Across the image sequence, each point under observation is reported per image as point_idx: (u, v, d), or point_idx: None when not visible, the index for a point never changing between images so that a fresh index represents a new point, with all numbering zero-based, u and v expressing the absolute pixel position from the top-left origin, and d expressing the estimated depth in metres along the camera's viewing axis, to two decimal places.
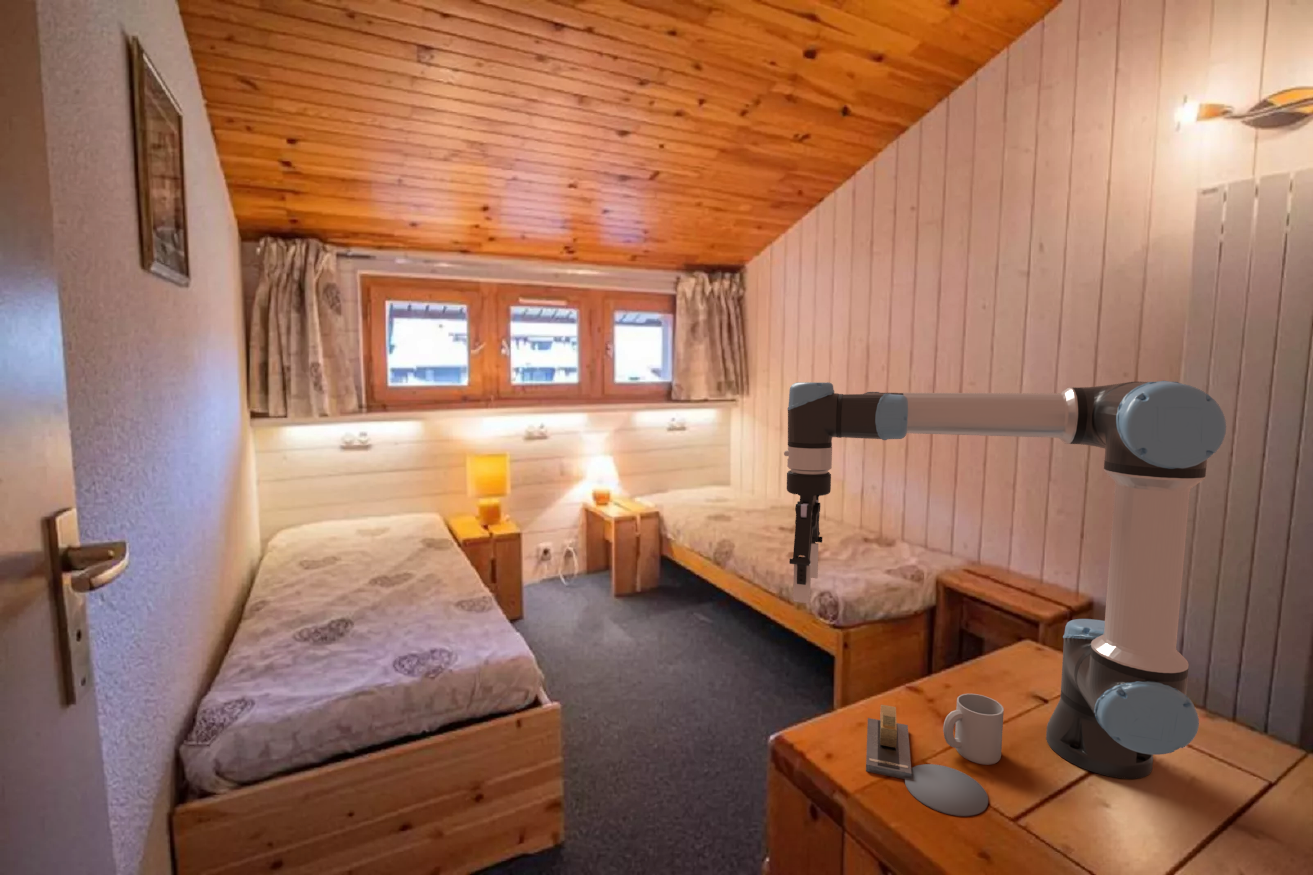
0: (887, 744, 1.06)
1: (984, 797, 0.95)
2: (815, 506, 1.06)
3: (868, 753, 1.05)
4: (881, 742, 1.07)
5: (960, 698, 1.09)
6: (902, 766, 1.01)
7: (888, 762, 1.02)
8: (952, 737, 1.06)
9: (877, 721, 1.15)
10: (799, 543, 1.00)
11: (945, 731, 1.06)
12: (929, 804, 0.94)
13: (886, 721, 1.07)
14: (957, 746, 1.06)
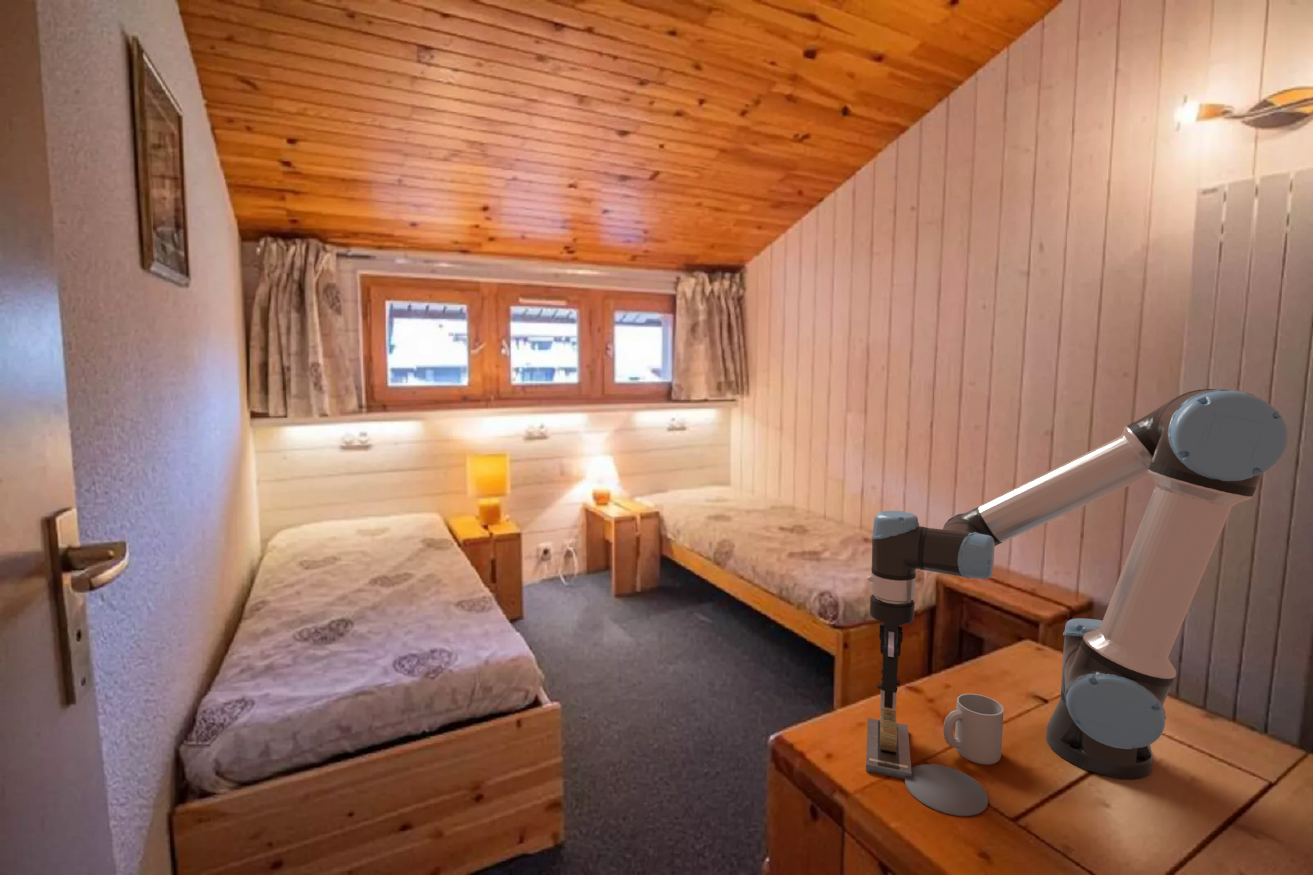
0: (887, 748, 1.05)
1: (984, 797, 0.95)
2: (899, 635, 1.09)
3: (868, 753, 1.05)
4: (881, 746, 1.05)
5: (960, 698, 1.09)
6: (902, 766, 1.01)
7: (888, 762, 1.02)
8: (952, 737, 1.06)
9: (877, 721, 1.15)
10: (887, 678, 1.08)
11: (945, 731, 1.06)
12: (929, 804, 0.94)
13: (886, 725, 1.05)
14: (957, 746, 1.06)
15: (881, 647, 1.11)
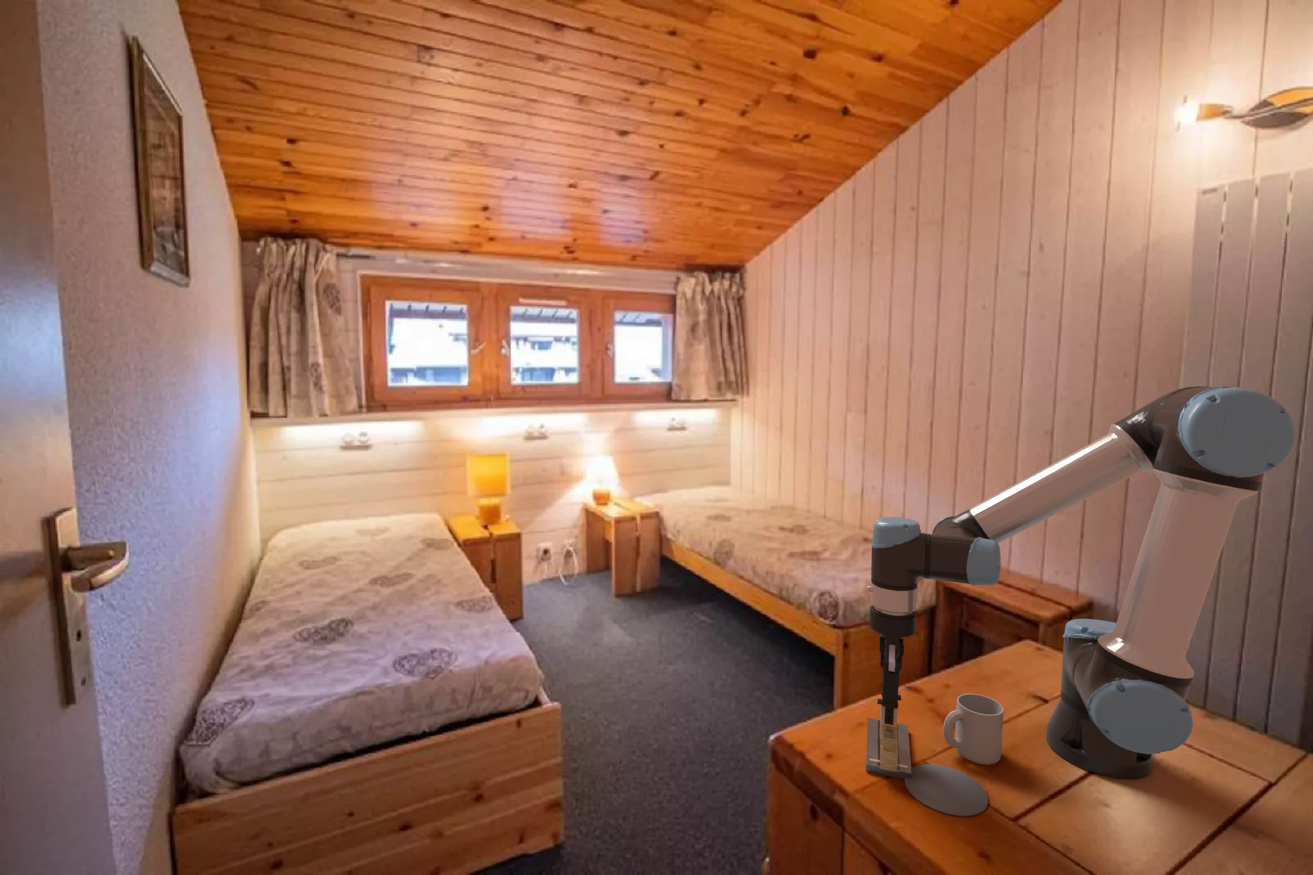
0: (887, 768, 1.00)
1: (984, 797, 0.95)
2: (900, 648, 1.04)
3: (868, 753, 1.05)
4: (881, 765, 1.00)
5: (960, 698, 1.09)
6: (902, 766, 1.01)
7: None
8: (952, 737, 1.06)
9: (877, 721, 1.15)
10: (888, 693, 1.03)
11: (945, 731, 1.06)
12: (929, 804, 0.94)
13: (886, 743, 1.00)
14: (957, 746, 1.06)
15: (881, 660, 1.05)
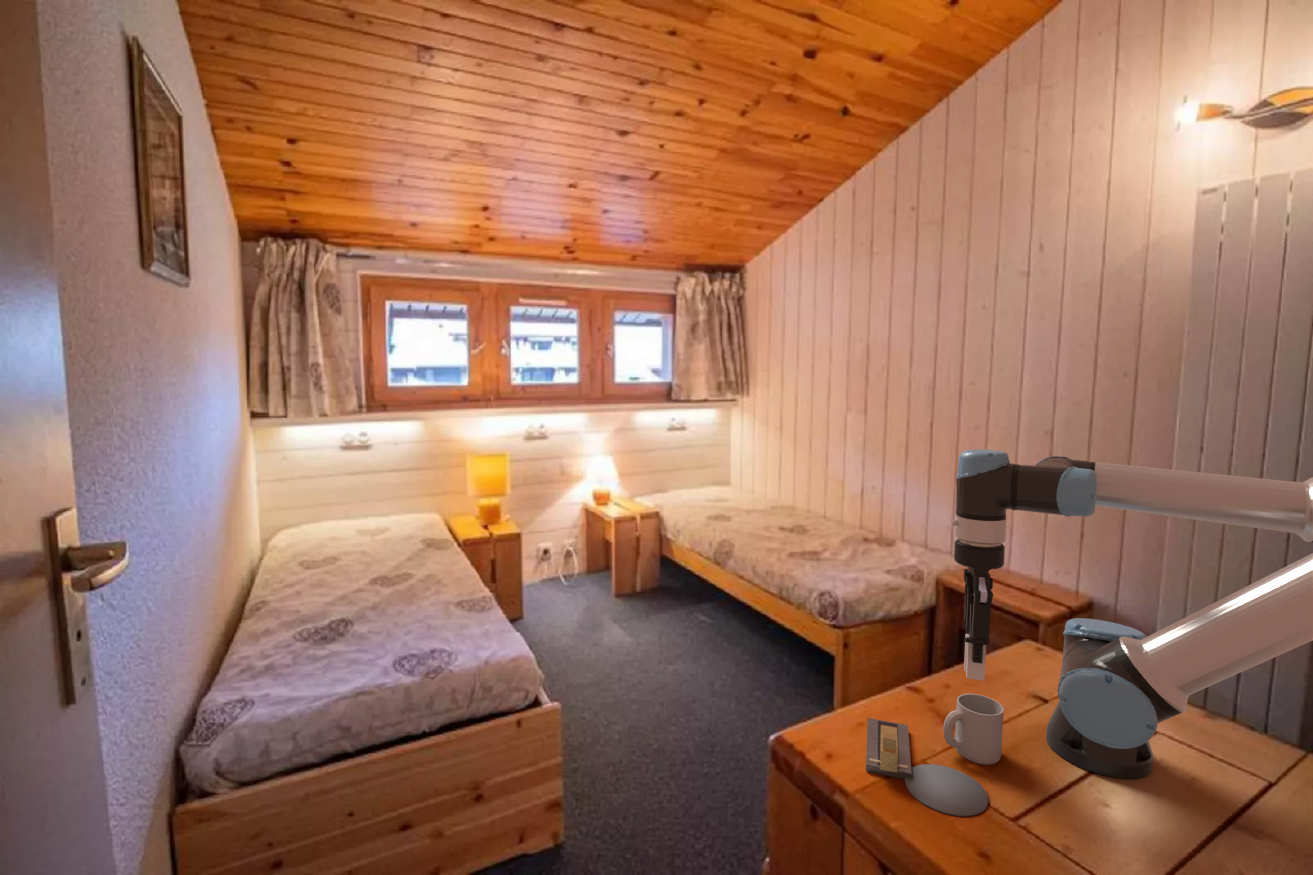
0: (888, 769, 1.00)
1: (984, 797, 0.95)
2: (989, 581, 1.02)
3: (868, 753, 1.05)
4: (881, 766, 1.00)
5: (960, 698, 1.09)
6: (902, 766, 1.01)
7: None
8: (952, 737, 1.06)
9: (877, 721, 1.15)
10: (978, 627, 1.00)
11: (945, 731, 1.06)
12: (929, 804, 0.94)
13: (886, 744, 1.00)
14: (957, 746, 1.06)
15: (969, 595, 1.03)
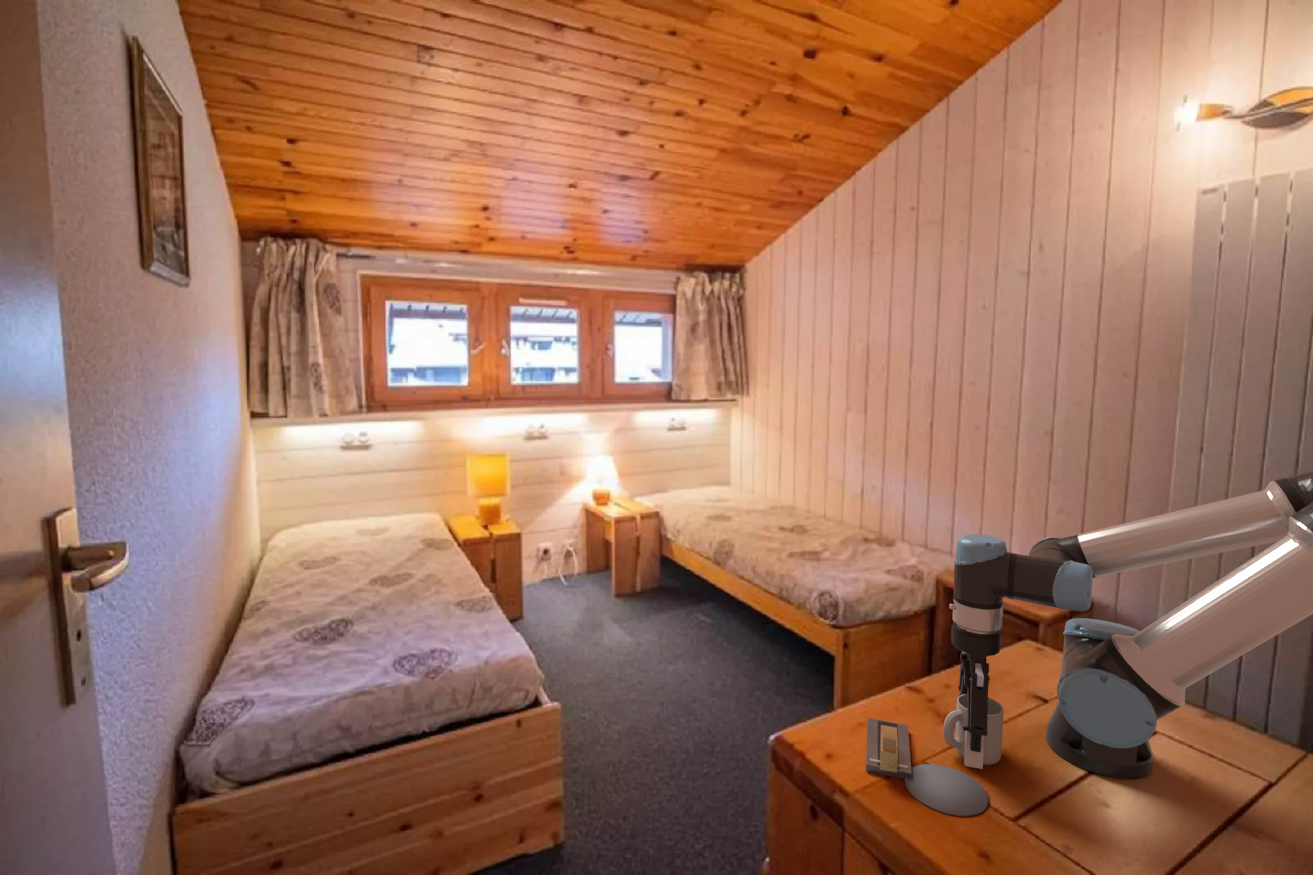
0: (888, 769, 1.00)
1: (984, 797, 0.95)
2: (985, 665, 1.04)
3: (868, 753, 1.05)
4: (881, 766, 1.00)
5: (960, 698, 1.09)
6: (902, 766, 1.01)
7: None
8: (952, 737, 1.06)
9: (877, 721, 1.15)
10: (976, 715, 1.00)
11: (945, 731, 1.06)
12: (929, 804, 0.94)
13: (886, 744, 1.00)
14: (957, 746, 1.06)
15: (966, 679, 1.04)
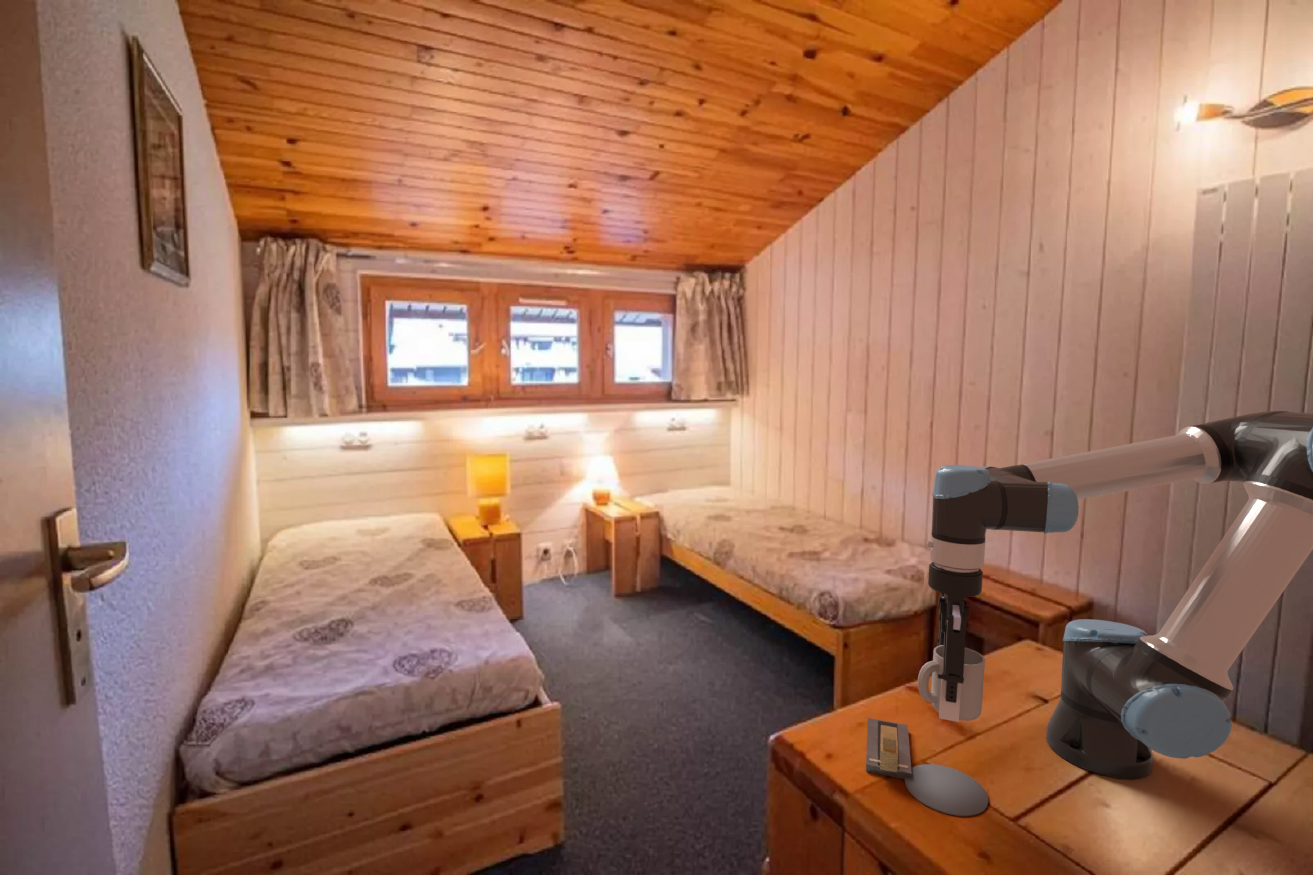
0: (888, 769, 1.00)
1: (984, 797, 0.95)
2: (964, 608, 0.93)
3: (868, 753, 1.05)
4: (881, 766, 1.00)
5: (938, 649, 0.99)
6: (902, 766, 1.01)
7: None
8: (927, 690, 0.95)
9: (877, 721, 1.15)
10: (952, 660, 0.90)
11: (919, 684, 0.95)
12: (929, 804, 0.94)
13: (886, 744, 1.00)
14: (933, 700, 0.95)
15: (942, 623, 0.94)
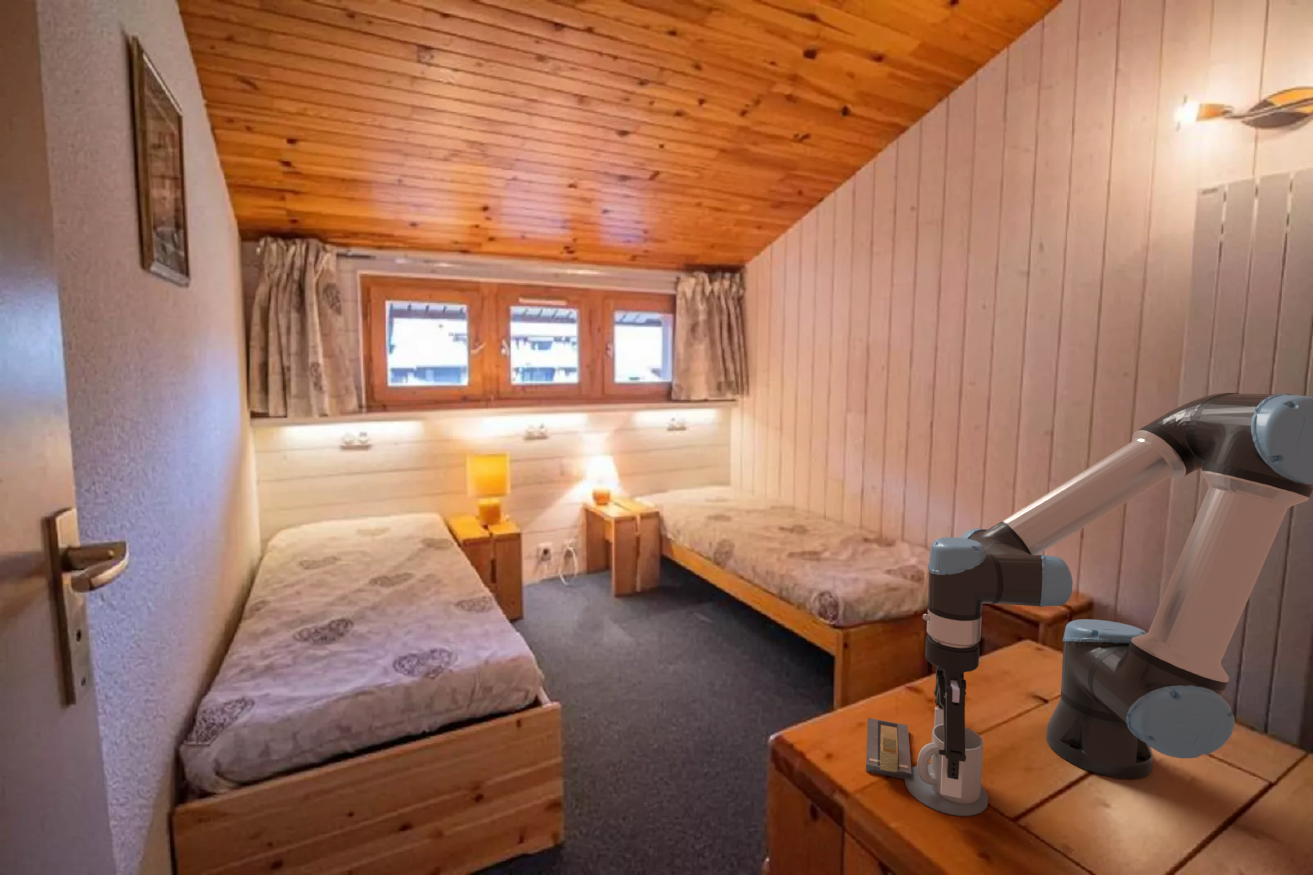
0: (888, 769, 1.00)
1: (984, 797, 0.95)
2: (962, 681, 0.94)
3: (868, 753, 1.05)
4: (881, 766, 1.00)
5: (936, 729, 0.99)
6: (902, 766, 1.01)
7: None
8: (927, 773, 0.96)
9: (877, 721, 1.15)
10: (953, 735, 0.88)
11: (919, 766, 0.96)
12: (929, 804, 0.94)
13: (886, 744, 1.00)
14: (932, 783, 0.96)
15: (941, 696, 0.93)
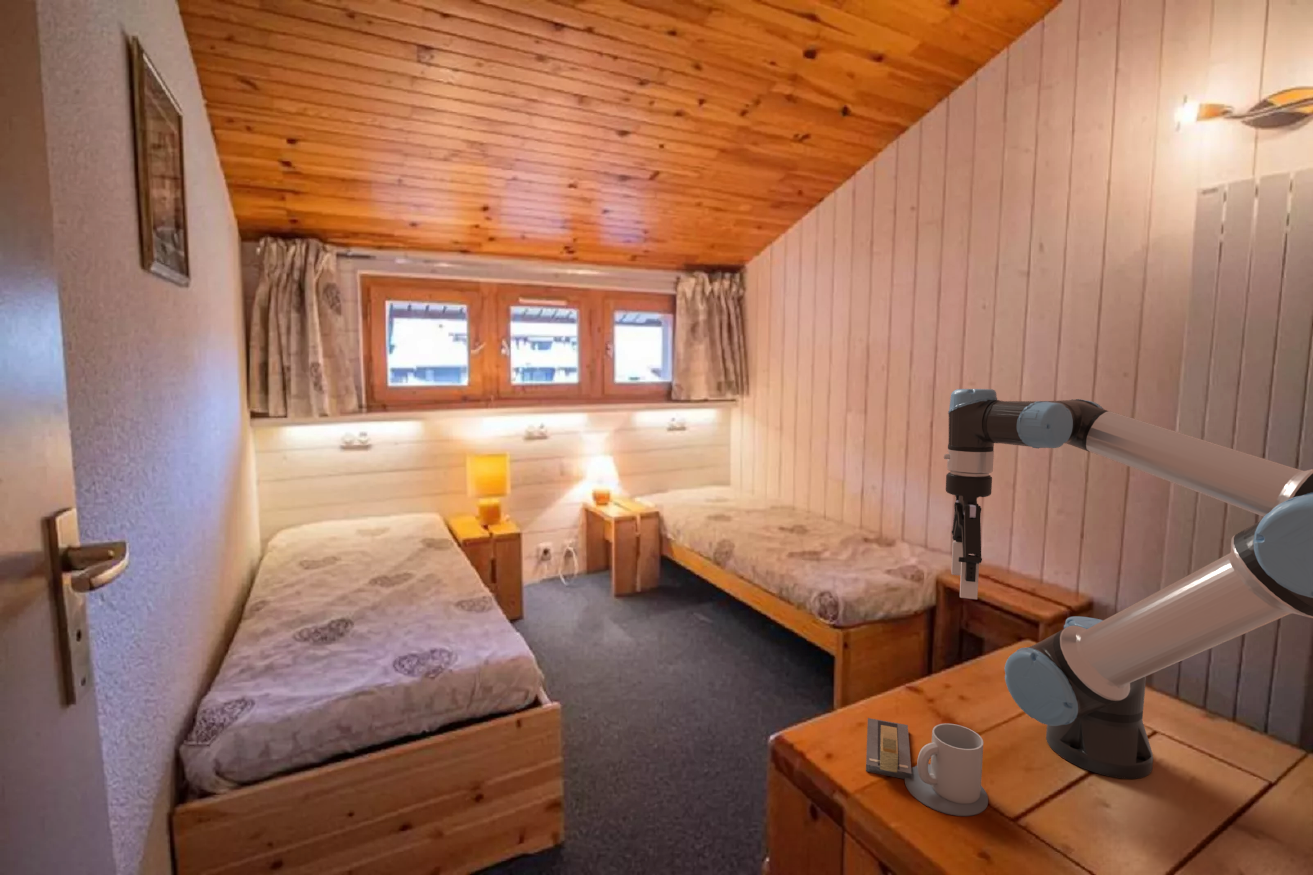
0: (888, 769, 1.00)
1: (984, 797, 0.95)
2: None
3: (868, 753, 1.05)
4: (881, 766, 1.00)
5: (936, 729, 0.99)
6: (902, 766, 1.01)
7: None
8: (927, 773, 0.96)
9: (877, 721, 1.15)
10: (970, 542, 1.05)
11: (919, 766, 0.96)
12: (929, 804, 0.94)
13: (886, 744, 1.00)
14: (932, 783, 0.96)
15: (960, 519, 1.10)
